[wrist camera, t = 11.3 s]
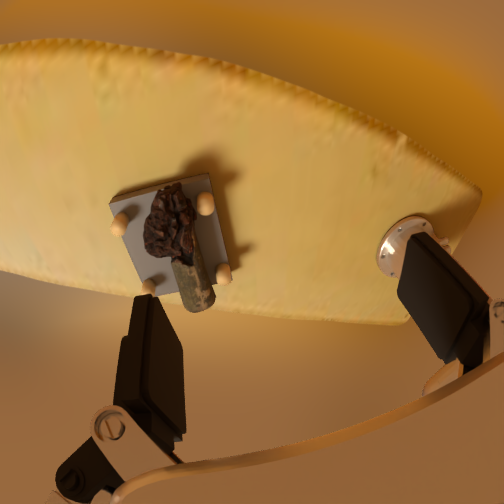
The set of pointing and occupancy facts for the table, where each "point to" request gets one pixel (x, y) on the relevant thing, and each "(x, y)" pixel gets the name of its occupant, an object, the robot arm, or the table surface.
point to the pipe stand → (159, 269)
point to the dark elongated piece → (179, 245)
